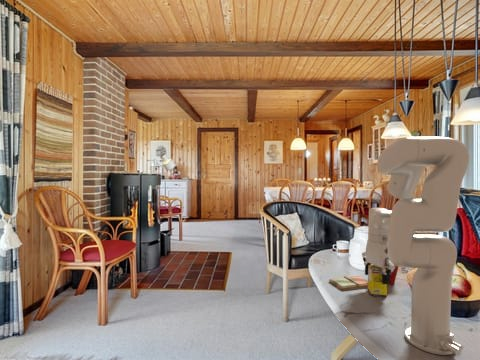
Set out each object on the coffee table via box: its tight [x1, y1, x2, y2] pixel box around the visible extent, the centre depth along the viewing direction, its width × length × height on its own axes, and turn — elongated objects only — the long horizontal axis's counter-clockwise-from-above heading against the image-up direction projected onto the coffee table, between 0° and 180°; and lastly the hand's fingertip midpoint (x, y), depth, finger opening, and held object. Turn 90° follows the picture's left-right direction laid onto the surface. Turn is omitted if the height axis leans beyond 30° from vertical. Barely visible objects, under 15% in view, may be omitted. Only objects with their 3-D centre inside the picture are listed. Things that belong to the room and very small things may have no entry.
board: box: [328, 275, 368, 292], centre depth 126 cm, size 10×16×2 cm, turn 106°
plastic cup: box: [385, 266, 399, 285], centre depth 129 cm, size 11×11×12 cm
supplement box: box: [367, 264, 388, 298], centre depth 117 cm, size 6×6×11 cm
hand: (376, 278), depth 117 cm, fingers open, 9 cm apart
